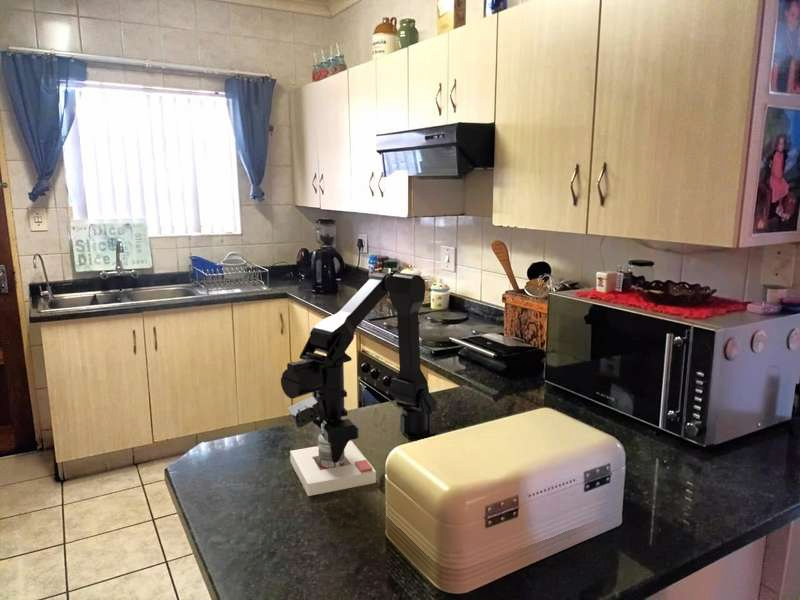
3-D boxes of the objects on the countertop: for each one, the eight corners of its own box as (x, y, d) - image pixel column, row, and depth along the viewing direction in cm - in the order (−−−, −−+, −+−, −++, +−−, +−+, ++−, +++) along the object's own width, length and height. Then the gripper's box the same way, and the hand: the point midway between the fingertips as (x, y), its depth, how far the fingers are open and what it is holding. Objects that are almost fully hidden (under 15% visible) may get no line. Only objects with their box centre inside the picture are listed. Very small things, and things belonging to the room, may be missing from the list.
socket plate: (351, 450, 133) (351, 438, 132) (375, 482, 118) (375, 468, 118) (290, 461, 127) (290, 448, 127) (308, 496, 113) (307, 481, 112)
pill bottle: (335, 459, 126) (334, 416, 125) (349, 468, 122) (348, 424, 120) (314, 466, 123) (312, 423, 121) (327, 476, 119) (326, 431, 117)
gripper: (281, 377, 125) (284, 445, 128) (301, 406, 108) (304, 484, 111) (331, 371, 129) (333, 437, 132) (358, 398, 112) (359, 473, 115)
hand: (331, 456), depth 122 cm, fingers closed on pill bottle, 5 cm apart
